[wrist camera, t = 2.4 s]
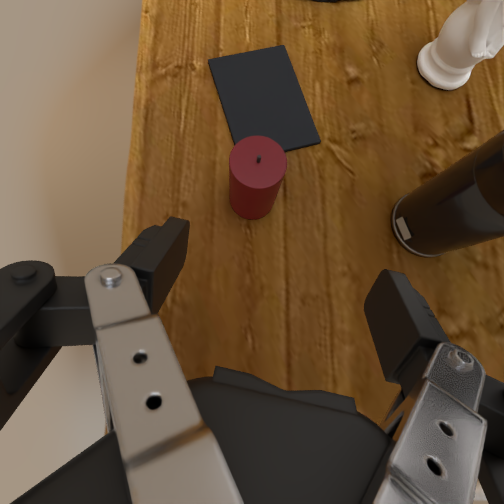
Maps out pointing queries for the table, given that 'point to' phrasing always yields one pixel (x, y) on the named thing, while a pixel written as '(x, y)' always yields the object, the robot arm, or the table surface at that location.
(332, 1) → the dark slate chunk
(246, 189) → the candle
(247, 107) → the mat
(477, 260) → the table surface
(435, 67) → the cherub figurine
